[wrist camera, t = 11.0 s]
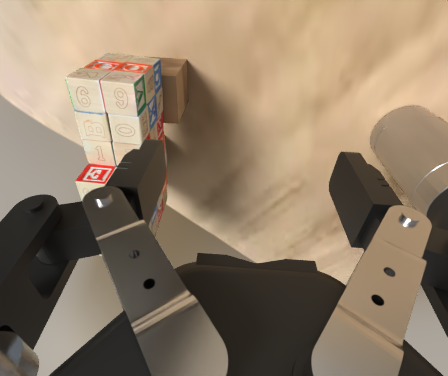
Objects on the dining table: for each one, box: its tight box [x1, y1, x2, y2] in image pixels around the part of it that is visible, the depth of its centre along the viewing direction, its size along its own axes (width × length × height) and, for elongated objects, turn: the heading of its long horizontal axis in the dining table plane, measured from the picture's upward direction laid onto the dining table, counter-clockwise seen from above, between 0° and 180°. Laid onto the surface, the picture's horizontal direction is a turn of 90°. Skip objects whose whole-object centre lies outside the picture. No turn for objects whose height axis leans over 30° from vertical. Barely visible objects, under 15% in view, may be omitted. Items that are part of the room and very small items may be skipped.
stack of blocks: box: [65, 53, 167, 256], centre depth 32 cm, size 21×6×12 cm, turn 175°
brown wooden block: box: [148, 57, 188, 124], centre depth 37 cm, size 6×6×8 cm
